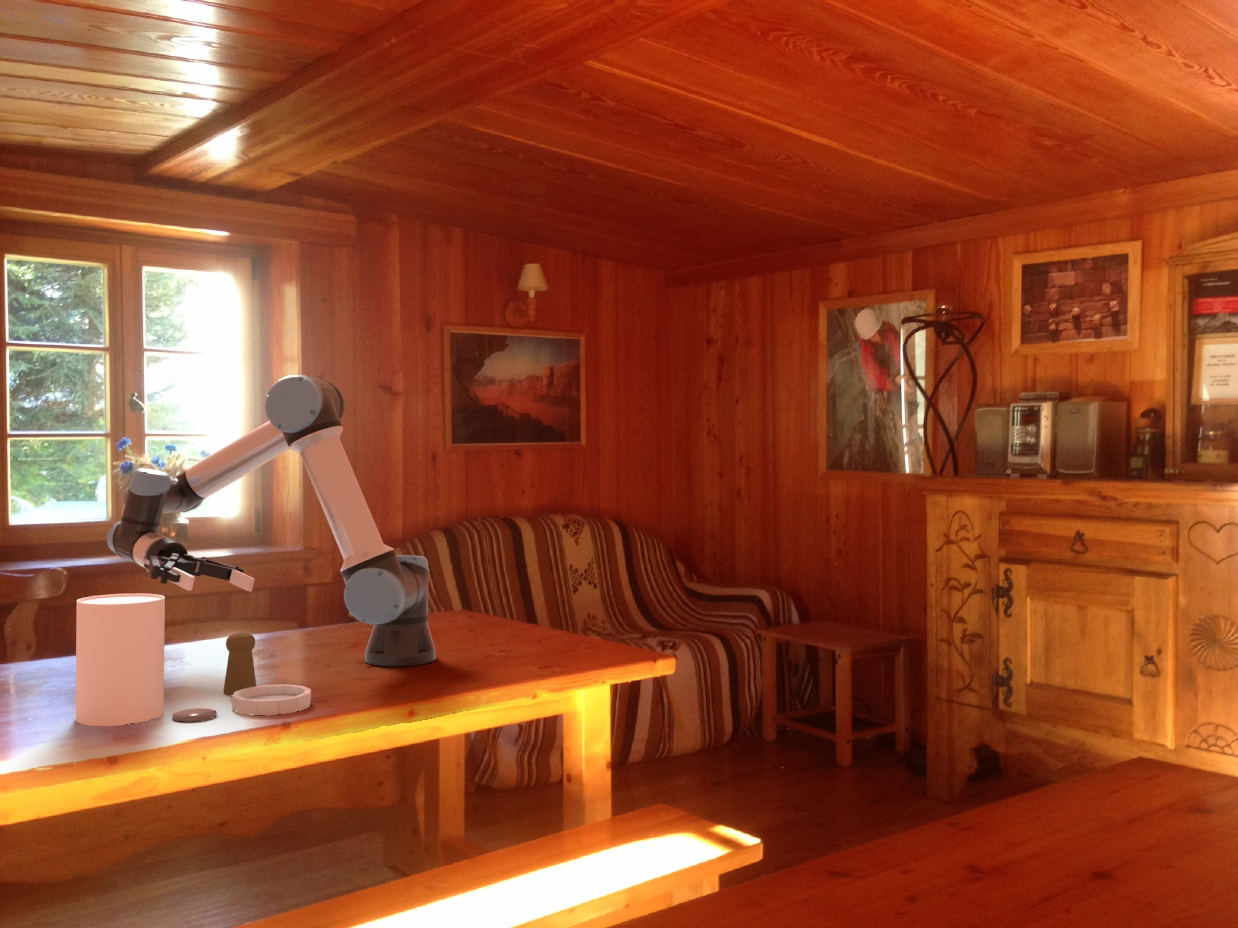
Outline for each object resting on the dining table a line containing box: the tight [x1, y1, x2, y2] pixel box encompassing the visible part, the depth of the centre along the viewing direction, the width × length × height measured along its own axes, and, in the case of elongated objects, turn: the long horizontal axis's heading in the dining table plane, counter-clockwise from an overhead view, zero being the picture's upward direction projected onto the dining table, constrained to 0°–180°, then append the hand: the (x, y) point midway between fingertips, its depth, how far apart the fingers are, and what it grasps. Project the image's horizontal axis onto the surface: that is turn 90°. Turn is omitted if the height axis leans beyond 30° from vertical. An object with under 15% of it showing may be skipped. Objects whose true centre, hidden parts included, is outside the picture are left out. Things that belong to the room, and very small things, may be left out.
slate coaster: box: [171, 708, 218, 723], centre depth 177 cm, size 7×7×1 cm
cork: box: [222, 632, 257, 696], centre depth 196 cm, size 6×6×11 cm
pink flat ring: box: [231, 683, 312, 716], centre depth 185 cm, size 13×13×2 cm
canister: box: [75, 593, 166, 727], centre depth 177 cm, size 14×14×20 cm
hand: (222, 584), depth 203 cm, fingers open, 13 cm apart
